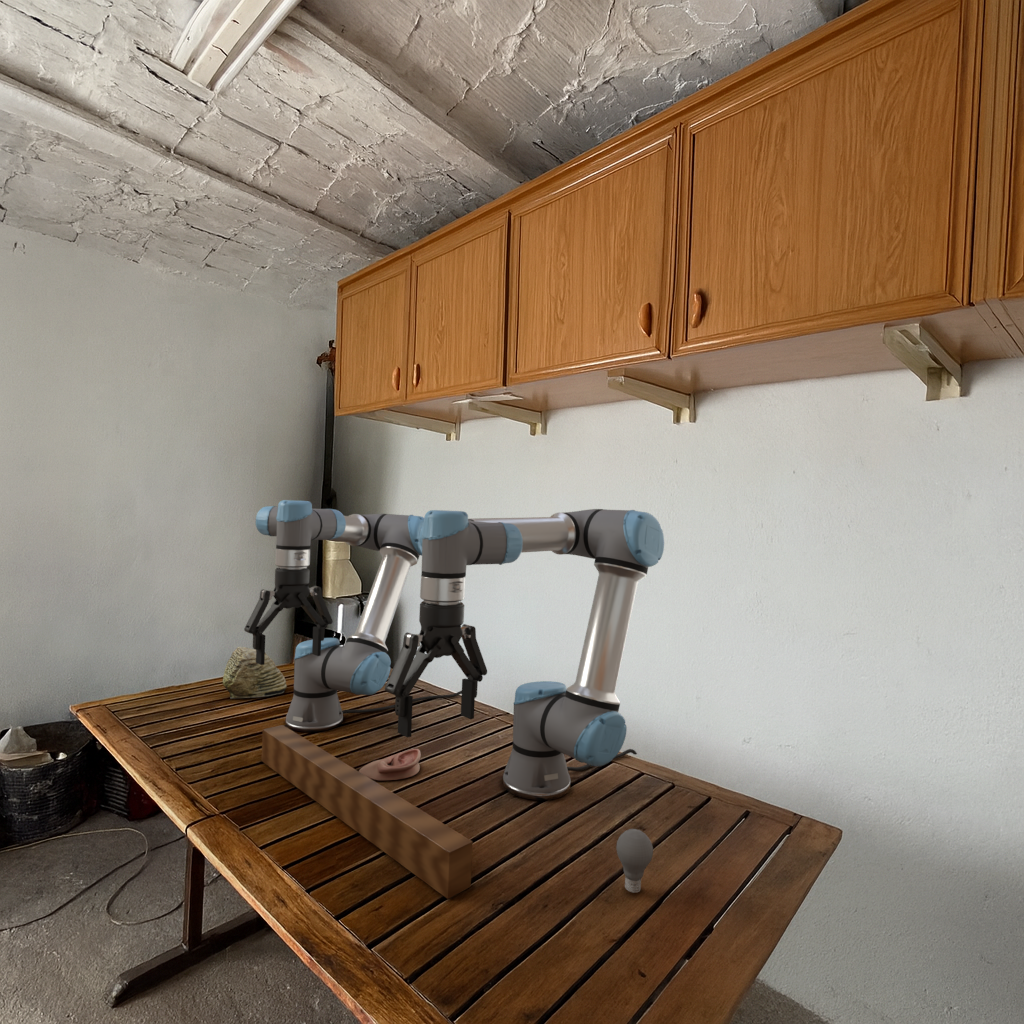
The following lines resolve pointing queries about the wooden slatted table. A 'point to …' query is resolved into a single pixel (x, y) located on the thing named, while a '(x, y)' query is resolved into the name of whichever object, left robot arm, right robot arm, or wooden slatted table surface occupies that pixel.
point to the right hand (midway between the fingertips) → (437, 725)
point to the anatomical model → (394, 766)
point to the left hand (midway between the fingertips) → (289, 659)
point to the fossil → (252, 675)
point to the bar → (373, 811)
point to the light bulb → (634, 857)
